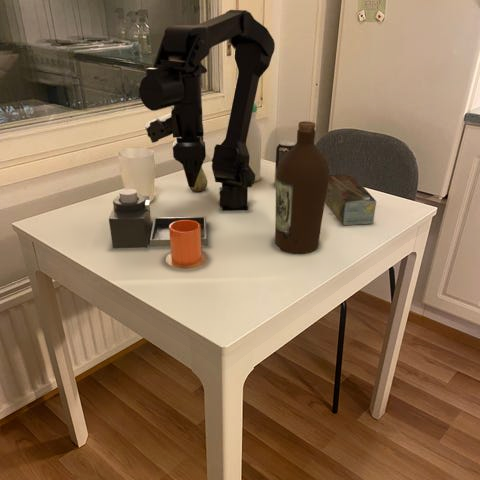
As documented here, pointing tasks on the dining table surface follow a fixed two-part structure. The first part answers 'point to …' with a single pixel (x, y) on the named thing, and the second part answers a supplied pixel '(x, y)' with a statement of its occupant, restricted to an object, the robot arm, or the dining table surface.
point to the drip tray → (162, 234)
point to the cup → (138, 170)
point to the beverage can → (282, 151)
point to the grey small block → (147, 205)
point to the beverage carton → (350, 200)
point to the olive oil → (301, 194)
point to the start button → (128, 196)
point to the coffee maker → (130, 223)
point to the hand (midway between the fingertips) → (191, 179)
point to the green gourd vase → (200, 182)
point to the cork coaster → (200, 263)
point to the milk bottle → (254, 144)
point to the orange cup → (185, 242)
